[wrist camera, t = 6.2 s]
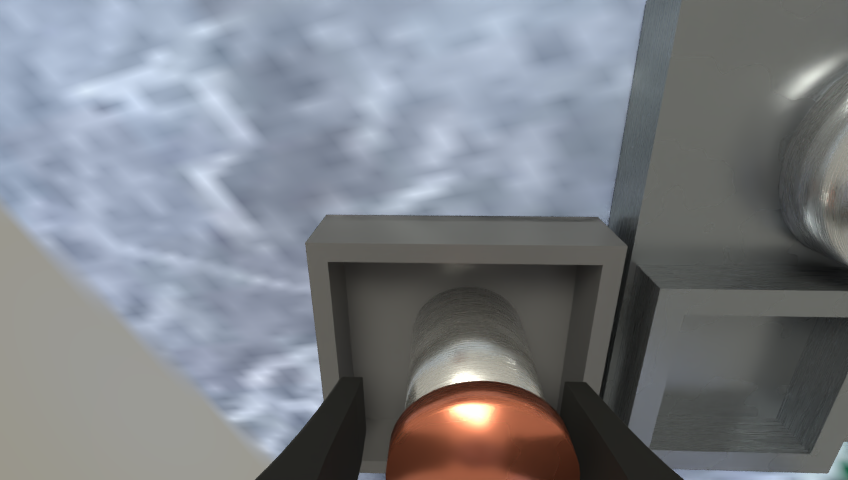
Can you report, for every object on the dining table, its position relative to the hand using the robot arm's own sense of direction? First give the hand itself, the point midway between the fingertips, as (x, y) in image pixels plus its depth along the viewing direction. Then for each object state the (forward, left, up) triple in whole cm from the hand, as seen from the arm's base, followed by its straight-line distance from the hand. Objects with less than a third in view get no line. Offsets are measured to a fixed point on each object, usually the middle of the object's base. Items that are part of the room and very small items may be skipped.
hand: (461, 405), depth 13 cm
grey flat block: (+4, -10, -4) cm, 11 cm away
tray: (0, 0, -4) cm, 4 cm away
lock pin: (0, 0, -3) cm, 3 cm away
